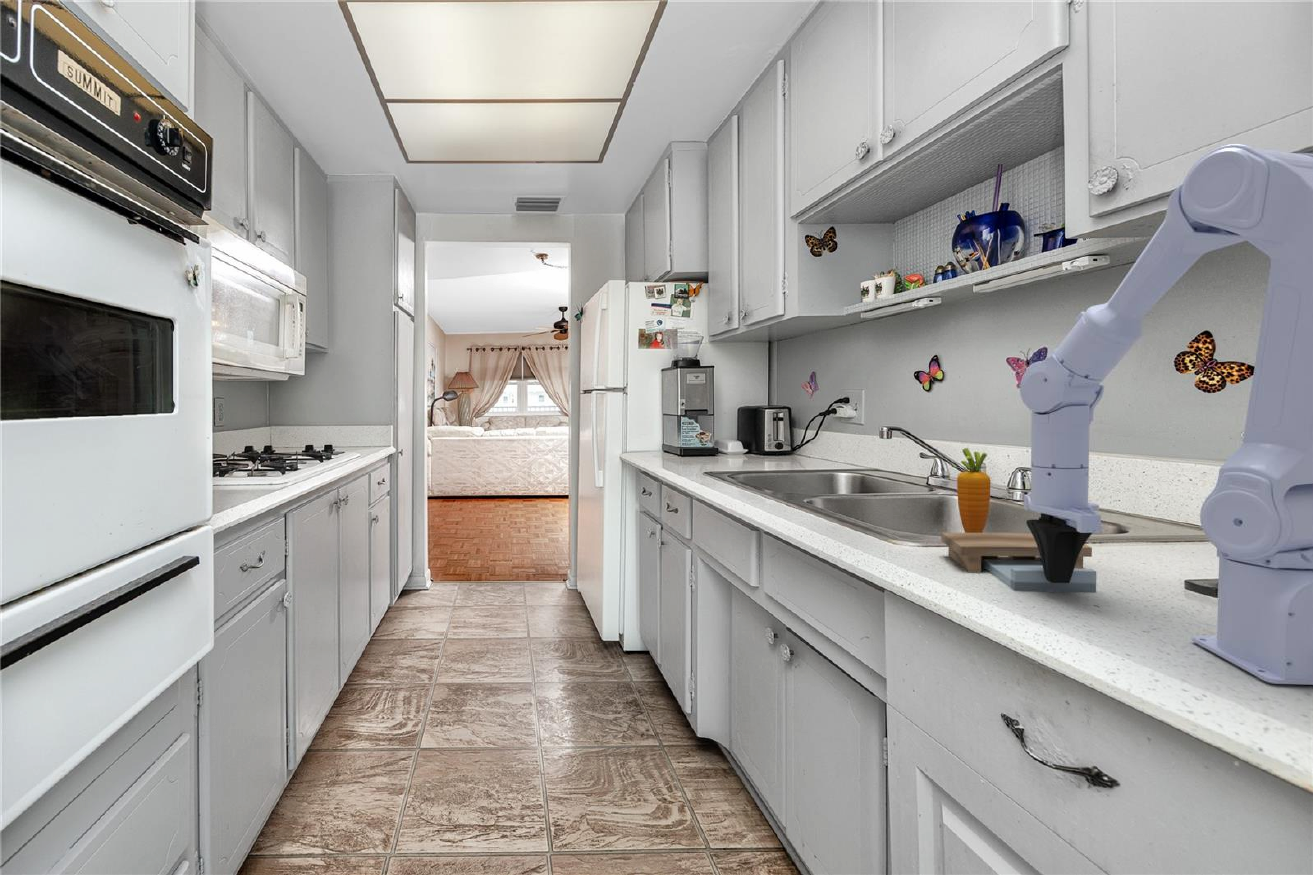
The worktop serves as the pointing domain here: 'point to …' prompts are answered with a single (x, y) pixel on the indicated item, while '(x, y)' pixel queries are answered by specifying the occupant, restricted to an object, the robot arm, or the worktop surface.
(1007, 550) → the bench
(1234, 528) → the robot arm
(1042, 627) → the worktop surface
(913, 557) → the worktop surface
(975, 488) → the carrot
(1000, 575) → the light blue lipped plate
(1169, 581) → the worktop surface
